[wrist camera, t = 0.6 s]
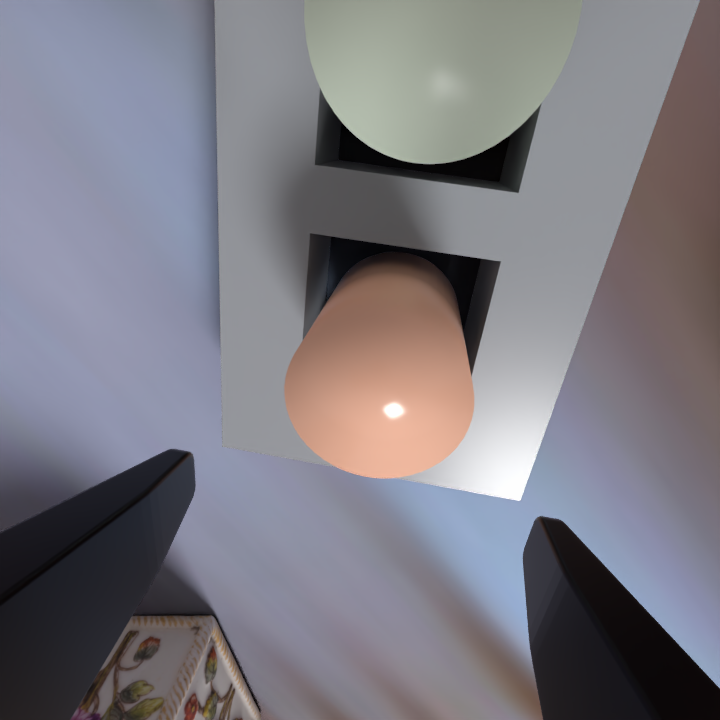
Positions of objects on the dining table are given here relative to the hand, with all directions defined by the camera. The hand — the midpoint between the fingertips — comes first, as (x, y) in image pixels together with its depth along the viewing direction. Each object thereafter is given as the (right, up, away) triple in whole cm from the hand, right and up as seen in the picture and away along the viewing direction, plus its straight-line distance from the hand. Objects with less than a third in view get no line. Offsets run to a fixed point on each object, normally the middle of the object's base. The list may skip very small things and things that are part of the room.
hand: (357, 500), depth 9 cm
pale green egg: (+2, +11, +5) cm, 13 cm away
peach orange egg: (+1, +4, +9) cm, 10 cm away
